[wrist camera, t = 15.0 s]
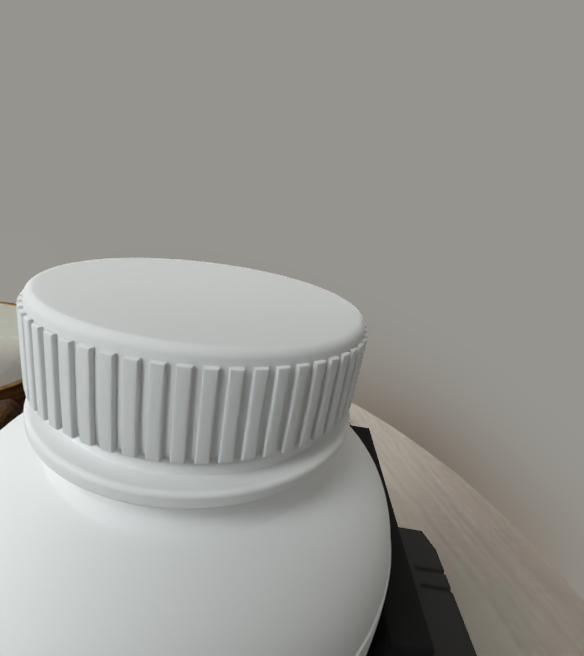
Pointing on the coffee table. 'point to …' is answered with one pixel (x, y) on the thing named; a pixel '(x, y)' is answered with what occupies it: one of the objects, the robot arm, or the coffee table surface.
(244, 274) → the pill bottle
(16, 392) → the bowl
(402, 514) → the coffee table surface
